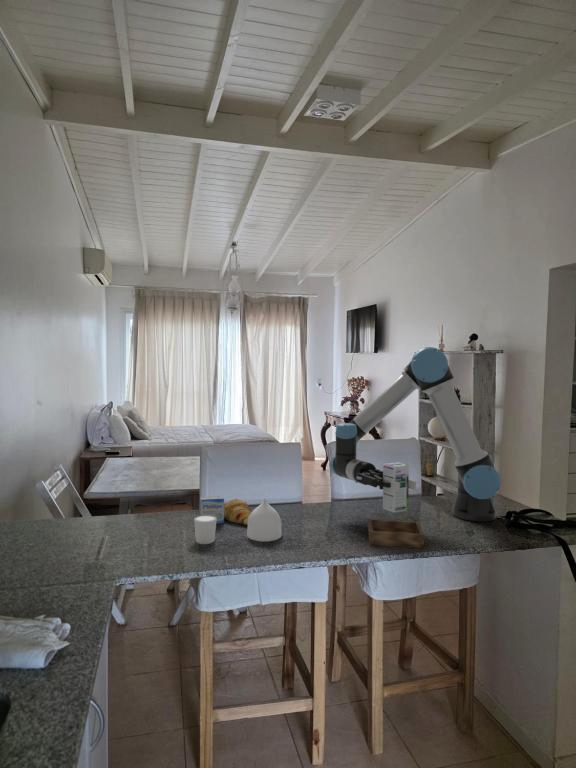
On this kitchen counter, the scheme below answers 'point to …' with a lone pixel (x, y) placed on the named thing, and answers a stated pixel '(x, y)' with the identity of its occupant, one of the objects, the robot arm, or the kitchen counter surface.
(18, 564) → the kitchen counter surface
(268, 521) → the teardrop
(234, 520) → the croissant
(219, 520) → the medicine box
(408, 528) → the serving tray
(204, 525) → the shot glass
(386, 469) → the syrup box
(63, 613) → the kitchen counter surface
